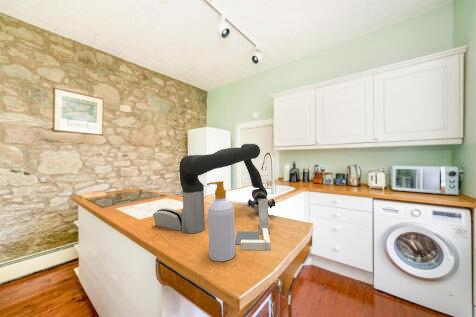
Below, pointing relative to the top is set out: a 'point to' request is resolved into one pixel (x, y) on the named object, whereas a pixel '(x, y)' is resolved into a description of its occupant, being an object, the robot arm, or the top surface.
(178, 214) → the grey rounded block
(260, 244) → the corner piece
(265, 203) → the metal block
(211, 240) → the soap bottle
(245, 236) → the pad
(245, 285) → the top surface
